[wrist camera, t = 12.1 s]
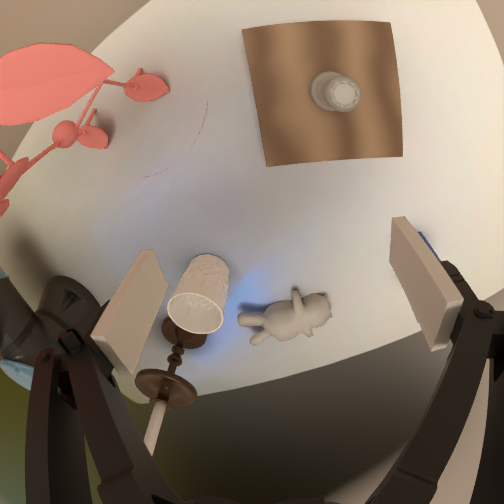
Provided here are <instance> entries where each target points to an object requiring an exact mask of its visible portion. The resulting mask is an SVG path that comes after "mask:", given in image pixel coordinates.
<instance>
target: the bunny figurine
mask: <svg viewBox="0 0 504 504" xmlns="http://www.w3.org/2000/svg"><path fill="white" fill-rule="evenodd" d="M331 317H332V313H331V310H330V307H329V303H328V300H327V297H326V295H324V296H321V295H318V294H311V295H308V296H306V297H305V298H304V299H303V300H302V298H301V297H300V295H299V293H298V291H297V290H294V291H292V301H281V302H277V303H274V304H272V305H269V306H268V308H267V309H266V310H265V312H264V313H263V314H254V313H247V312H242V313H239V314H238V317H237V318H238V324H239V325H240V326H243V327H251V326H262V327H263V328H264V329H265V330H263V331H261V332H260V333H258V334H256V335H254V336H252V337H251V338H250V343H251V344H252V345H255V346H257V345H259V344H260V343H262V342H263V341H264V340H266V339H267V338H268V337H269V336H271V335H272V336H273V337H274V338H276V339H277V340H279V341H286V340H289V339H292V338H294V337H296V336H297V335H298V334H300V333H301V332H302V333H304V334H305V335H306V336H308V337H311V336H313V333H312V329H311V327H312V328H318V327H321V326H323V325H324V324H325V323H326V322H327V320H328V319H329V318H331Z"/></svg>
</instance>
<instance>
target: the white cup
mask: <svg viewBox="0 0 504 504" xmlns="http://www.w3.org/2000/svg"><path fill="white" fill-rule="evenodd" d="M229 278H230V276H229V268H228V266H227V265H226V263H225V262H224V261H223V260H221V259H220V258H219V257H217V256H214V255H210V254H204V255H198V256H197V257H195V258H194V259H192V260H191V262H190V264H189V266H188V268H187V270H186V271H185V272H184V274H183V275H182V277H181V279H180V281H179V283H178V285H177V287H176V289H175V290H174V292H173V294H172V296H171V298H170V300H169V302H168V305H167V311H168V314H169V316H170V318H171V319H172V321H173V322H174V323H175V324H176V325H178V326H179V327H180V328H182V329H184V330H186V331H189V332H192V333H196V334H208V333H212V332H214V331H216V330H218V329H219V328H220V327H221V325H222V323H223V319H224V313H225V307H226V301H227V294H228V286H229V284H228V283H229Z"/></svg>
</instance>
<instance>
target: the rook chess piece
mask: <svg viewBox="0 0 504 504" xmlns="http://www.w3.org/2000/svg"><path fill="white" fill-rule="evenodd" d="M309 91H310V96H311V99H312V100H313V101H314V103H315V104H316V105H317V106H319V107H320V108H322V109H324V110H328V111H339V112H350V111H352V110H354V109H355V108H357V106H358V105H359V103H360V101H361V97H362V94H361V88H360V87H359V85H358V84H357V82H356V81H354V80H353V79H352V78H350V77H347V76H343V75H341V74H340V73H337V72H333V71H325V72H321V73H319V74H318V75H316V76H315V77H314V78H313V80H312V81H311V83H310V88H309Z"/></svg>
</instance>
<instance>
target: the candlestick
mask: <svg viewBox="0 0 504 504" xmlns="http://www.w3.org/2000/svg"><path fill="white" fill-rule="evenodd" d="M162 333H163V335H164V336H165V338H166V339H167V340H168V341H170V342H171V343H172V344H174V345H176V346H173V347H172V352H173V354H171V355H169V356H168V358H167V361H168V362H169V363H170V365H169V368H168V371H164V370H159V369H144V370H141V371H139V372H138V373H137V375H136V378H135V385H136V386H137V388H138V389H139V390H140V391H141V392H142V393H143V394H144V395H146V396H147V397H149V398H151V399H150V400H149V401H150V403H151V404H152V405H154V409H153V412H152V415H151V418H150V422H149V425H148V428H147V431H146V435H145V438H144V443H145V445H146V447H147V448H148V450H149V452H150V454H151V456H152V455H153V451H154V447H155V444H156V440H157V437H158V433H159V430H160V426H161V423H162V419H163V416H164V412H165V410H171V409H172V406H175V407H186V406H190V405H192V404H194V403H195V401H196V397H197V391H196V389H195V387H194V386H193V385H192V384H191V383H189V382H188V381H187V380H185V379H183V378H182V377H180V376H178V375H176V374H174V373H175V370H176V367H177V366H180V365H181V364H182V359H181V357H180V356H181V355H183V354H184V349H183V348H187V349H194V348H198V347H201V346H202V345H203V344H204V343H205V341H206V336H207V334H196V333H192V332H189V331H186V330H184V329H182V328H180V327H179V326H178V325H176V324H175V323H174V322H173V321H172V319H171V318H170V316H169V317H167V318H166V319H165V320H164V322H163V324H162Z"/></svg>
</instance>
